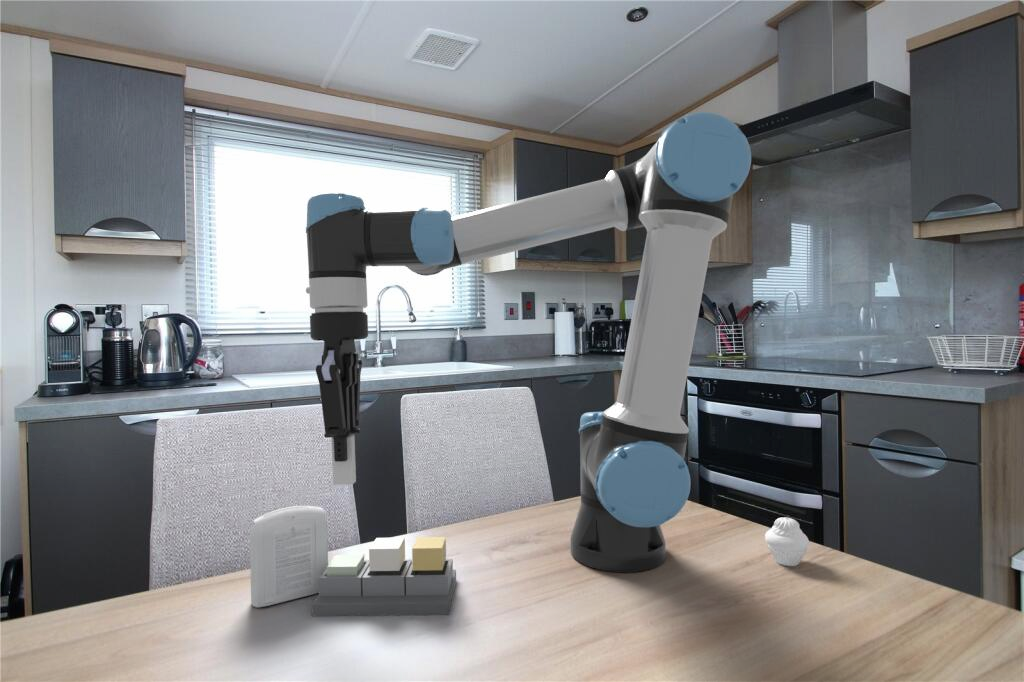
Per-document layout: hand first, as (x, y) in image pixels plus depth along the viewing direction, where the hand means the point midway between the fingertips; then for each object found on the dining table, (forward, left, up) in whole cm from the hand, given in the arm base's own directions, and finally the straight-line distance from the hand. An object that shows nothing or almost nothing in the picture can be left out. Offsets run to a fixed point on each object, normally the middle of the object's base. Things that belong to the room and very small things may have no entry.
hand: (344, 482), depth 79 cm
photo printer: (+8, -1, -16) cm, 18 cm away
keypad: (-6, 0, -16) cm, 17 cm away
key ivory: (-6, 0, -12) cm, 13 cm away
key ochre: (-11, 0, -12) cm, 16 cm away
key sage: (0, 0, -14) cm, 14 cm away
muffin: (-65, -10, -16) cm, 68 cm away
